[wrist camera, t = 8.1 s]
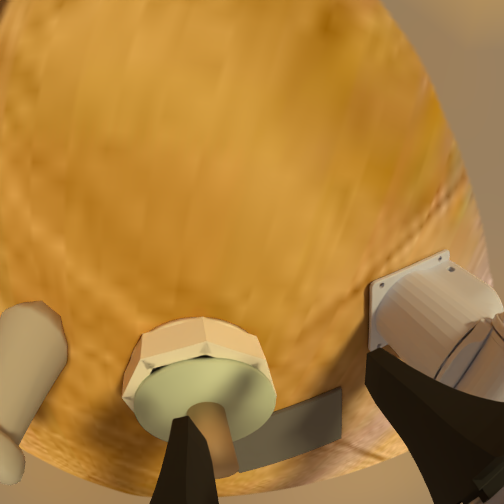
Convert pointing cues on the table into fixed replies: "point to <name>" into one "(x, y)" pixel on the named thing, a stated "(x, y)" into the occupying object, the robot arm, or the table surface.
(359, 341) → the table surface
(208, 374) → the lid
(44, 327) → the salt shaker
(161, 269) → the table surface
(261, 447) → the mat
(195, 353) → the bowl
